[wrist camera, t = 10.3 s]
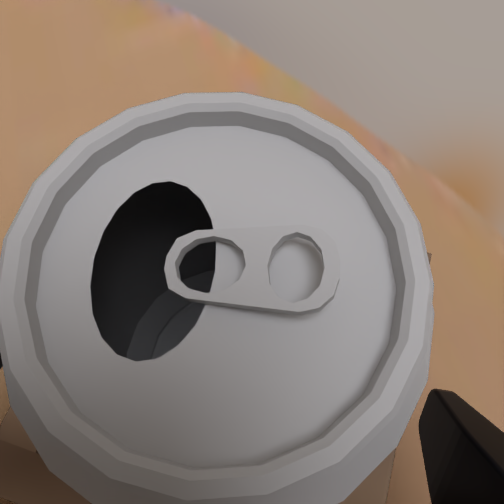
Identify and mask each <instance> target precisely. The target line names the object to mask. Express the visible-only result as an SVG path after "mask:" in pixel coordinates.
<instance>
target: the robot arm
mask: <svg viewBox="0 0 504 504" xmlns="http://www.w3.org/2000/svg"><path fill="white" fill-rule="evenodd" d="M2 366H3V364H2V359H1V353H0V369H1V367H2ZM419 434H420V440H421V446H422V452H423V458H424V464H425V470H426V476H427V481H428V487H429V493H430V498H431V503H432V504H504V432H502V431H501V430H500V429H499V428H497V427H496V426H495V425H494V424H492V423H491V422H490V421H489V420H487V419H486V418H485V417H484V416H483V415H481V414H480V413H479V412H478V411H476V410H475V409H474V408H473V407H471V406H470V405H469V404H468V403H467V402H465V401H464V400H463V399H462V398H460V397H459V396H458V395H457V394H455V393H454V392H452V391H447V390H441V389H433V390H431V391H430V393H429V395H428V397H427V400H426V403H425V405H424V408H423V411H422V414H421V416H420V419H419Z"/></svg>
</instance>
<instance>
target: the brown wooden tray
mask: <svg viewBox="0 0 504 504" xmlns="http://www.w3.org/2000/svg"><path fill="white" fill-rule="evenodd" d="M427 255H428V260H429V264H430V260H431V255H432V254H431V253H427ZM395 450H396V448H395V449H394V450H393V451H392V452H391V453H390V454H389V455H388V456H387V457H386V458H385V459H384V460H383V461H382V462H381V463H380V464H379V465H378V466H377V467H376V468H375V469H374V470H373V471H372V472H371V473H370V474H369V475H368V476H367V477H366V478H365V479H364V480H363V481H362V483H361V484H360V485H359V486H358V487H357V488H356V489H355V490H354V491H353V492H352V493H351V494H350V495H349V496H348V497H347V498H346V499H345V500H344V501H342V502H340V503H338V504H386V499H387V494H388V488H389V483H390V478H391V472H392V467H393V461H394V456H395ZM0 497H1V498H3V499H6V500H9V501H11V502H14V503H16V504H92V503H90V502H89V501H88V500H87V499H85V498H84V497H83V496H81V495H80V494H79V493H78V492H76V491H75V490H74V489H72V488H71V487H70V486H69V485H67V484H66V483H65V482H63V481H62V480H61V479H60V478H58V477H57V476H56V475H54V474H53V473H52V472H51V471H49V469H48V468H47V466H46V464H45V463H44V461H43V459H42V458H41V456H40V454H39V453H38V451H37V449H36V448H35V446H34V444H33V443H32V441H31V439H30V438H29V436H28V434H27V433H26V431H25V429H24V428H23V426H22V424H21V423H20V421H19V419H18V418H17V416H16V414H15V413H14V411H13V409H12V408H11V406H10V408H9V410H8V412H7V414H6V415H5V417H4V419H3V421H2V423H1V425H0Z"/></svg>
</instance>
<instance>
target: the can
mask: <svg viewBox="0 0 504 504" xmlns="http://www.w3.org/2000/svg"><path fill="white" fill-rule="evenodd" d="M433 290H434V282H433V278H432V273H431V269H430V264H429V260H428V255H427V251H426V247H425V242H424V238H423V233H422V229H421V224H420V222H419V220H418V219H417V217H416V215H415V214H414V212H413V210H412V208H411V207H410V205H409V203H408V202H407V200H406V198H405V196H404V195H403V193H402V191H401V190H400V188H399V186H398V184H397V183H396V181H395V179H394V177H393V176H392V174H391V172H390V171H389V170H388V169H387V168H386V167H385V166H383V165H382V164H381V163H380V162H379V161H378V160H377V159H376V158H375V157H374V156H373V155H372V154H371V153H370V152H369V151H368V150H367V149H365V148H364V147H363V146H362V145H361V144H360V143H359V142H358V141H357V140H356V139H355V138H354V137H353V136H352V135H351V134H350V133H349V132H347V131H345V130H343V129H341V128H340V127H338V126H336V125H334V124H332V123H330V122H328V121H326V120H324V119H323V118H321V117H319V116H317V115H315V114H313V113H311V112H309V111H308V110H306V109H304V108H302V107H300V106H298V105H295V104H290V103H286V102H282V101H278V100H274V99H269V98H265V97H261V96H257V95H252V94H248V93H244V92H214V93H183V94H179V95H175V96H172V97H168V98H164V99H161V100H157V101H153V102H150V103H146V104H142V105H139V106H135V107H132V108H128V109H126V110H124V111H123V112H121V113H119V114H118V115H116V116H114V117H112V118H111V119H109V120H107V121H105V122H104V123H102V124H100V125H99V126H97V127H95V128H93V129H92V130H90V131H88V132H86V133H85V134H83V135H81V136H80V137H78V138H76V139H75V140H74V141H73V142H72V143H71V144H70V145H69V146H68V147H67V148H66V149H65V150H64V151H63V152H62V153H61V154H60V156H59V157H58V158H57V159H56V160H55V161H54V162H53V163H52V164H51V165H50V166H49V167H48V168H47V169H46V170H45V171H44V172H43V173H42V174H41V175H40V176H39V177H38V178H37V179H36V180H35V181H34V182H33V184H32V186H31V188H30V189H29V191H28V193H27V195H26V197H25V199H24V201H23V203H22V205H21V207H20V209H19V211H18V212H17V214H16V216H15V218H14V220H13V222H12V224H11V226H10V228H9V230H8V232H7V234H6V236H5V237H4V240H3V246H2V252H1V258H0V353H1V359H2V364H3V370H4V375H5V380H6V386H7V391H8V396H9V402H10V406H11V408H12V409H13V411H14V413H15V414H16V416H17V418H18V419H19V421H20V423H21V424H22V426H23V428H24V429H25V431H26V433H27V434H28V436H29V438H30V439H31V441H32V443H33V444H34V446H35V448H36V449H37V451H38V453H39V454H40V456H41V458H42V459H43V461H44V463H45V464H46V466H47V468H48V469H49V471H51V472H52V473H53V474H54V475H56V476H57V477H58V478H60V479H61V480H62V481H63V482H65V483H66V484H67V485H69V486H70V487H71V488H72V489H74V490H75V491H76V492H78V493H79V494H80V495H81V496H83V497H84V498H85V499H87V500H88V501H89V502H90V503H92V504H338V503H340V502H342V501H344V500H345V499H346V498H347V497H348V496H349V495H350V494H351V493H352V492H353V491H354V490H355V489H356V488H357V487H358V486H359V485H360V484H361V483H362V481H363V480H364V479H365V478H366V477H367V476H368V475H369V474H370V473H371V472H372V471H373V470H374V469H375V468H376V467H377V466H378V465H379V464H380V463H381V462H382V461H383V460H384V459H385V458H386V457H387V456H388V455H389V454H390V453H391V452H392V451H393V450H394V449H395V448H396V447H397V446H398V443H399V441H400V439H401V437H402V435H403V433H404V430H405V428H406V426H407V424H408V422H409V420H410V417H411V415H412V413H413V411H414V409H415V407H416V404H417V402H418V400H419V398H420V396H421V394H422V391H423V389H424V387H425V385H426V383H427V381H428V371H429V362H430V352H431V342H432V332H433V322H434V309H433V304H432V300H433Z"/></svg>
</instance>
